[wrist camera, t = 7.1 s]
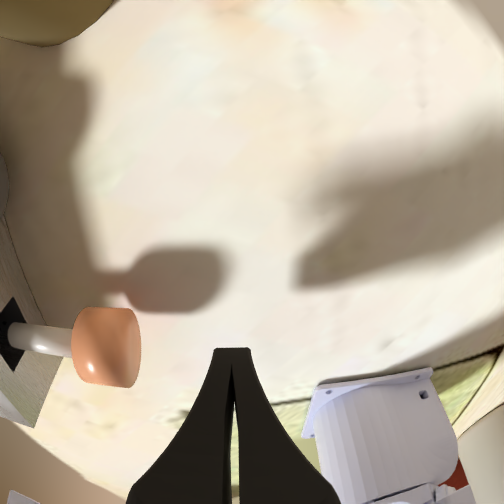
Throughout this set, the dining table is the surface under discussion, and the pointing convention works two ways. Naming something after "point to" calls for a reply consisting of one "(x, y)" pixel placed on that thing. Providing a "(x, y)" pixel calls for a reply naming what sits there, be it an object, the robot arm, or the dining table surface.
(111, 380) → the terracotta knob
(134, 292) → the dining table surface
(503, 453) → the cylinder vase
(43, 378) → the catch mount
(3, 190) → the gray knob
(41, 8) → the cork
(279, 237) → the dining table surface
